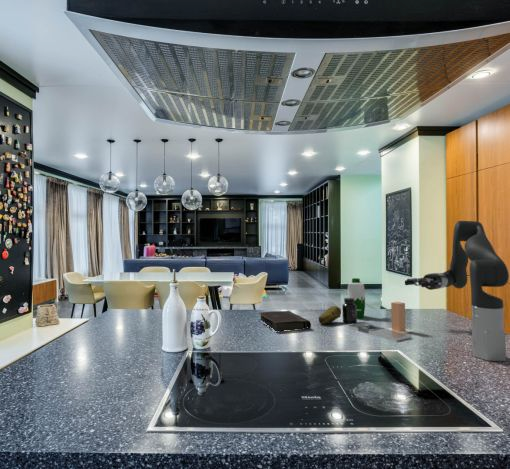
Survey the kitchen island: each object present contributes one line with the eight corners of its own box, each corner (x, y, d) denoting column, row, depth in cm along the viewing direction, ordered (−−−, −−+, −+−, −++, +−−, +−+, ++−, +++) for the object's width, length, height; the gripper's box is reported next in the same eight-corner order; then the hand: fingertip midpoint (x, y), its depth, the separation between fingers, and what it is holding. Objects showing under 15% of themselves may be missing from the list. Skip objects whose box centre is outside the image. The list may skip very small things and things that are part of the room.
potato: (313, 322, 177) (313, 306, 177) (337, 320, 180) (336, 304, 180) (321, 326, 169) (321, 309, 169) (345, 324, 172) (345, 307, 172)
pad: (414, 332, 154) (414, 330, 154) (400, 335, 150) (400, 333, 150) (396, 328, 162) (396, 326, 162) (383, 331, 158) (383, 329, 158)
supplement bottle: (355, 321, 178) (355, 297, 178) (358, 324, 171) (357, 299, 171) (341, 321, 178) (341, 297, 179) (343, 324, 172) (343, 299, 172)
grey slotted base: (411, 340, 143) (411, 334, 143) (396, 343, 139) (396, 338, 139) (362, 327, 166) (362, 322, 166) (348, 329, 161) (348, 325, 161)
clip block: (405, 330, 155) (404, 303, 155) (399, 331, 153) (398, 303, 153) (397, 328, 159) (397, 301, 159) (391, 329, 157) (391, 302, 157)
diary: (290, 319, 187) (290, 310, 187) (311, 330, 163) (311, 320, 163) (256, 321, 182) (256, 311, 182) (273, 333, 158) (273, 322, 158)
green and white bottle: (365, 315, 191) (364, 278, 192) (365, 319, 182) (364, 280, 183) (348, 314, 194) (347, 278, 194) (347, 318, 185) (347, 279, 185)
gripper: (421, 272, 176) (400, 274, 168) (449, 274, 164) (427, 276, 156) (421, 287, 176) (400, 290, 168) (449, 290, 164) (428, 294, 156)
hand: (413, 283), depth 162 cm, fingers open, 8 cm apart
